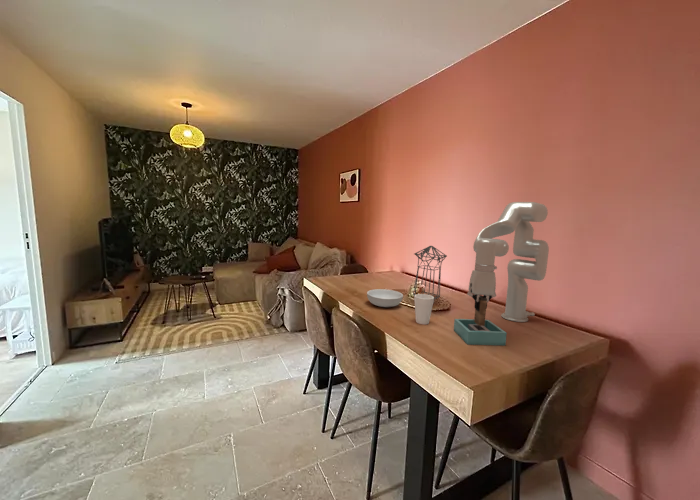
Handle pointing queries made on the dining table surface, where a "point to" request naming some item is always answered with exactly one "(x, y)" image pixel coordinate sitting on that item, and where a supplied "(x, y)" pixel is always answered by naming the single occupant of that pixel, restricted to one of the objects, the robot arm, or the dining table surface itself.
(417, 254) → the geometric lantern
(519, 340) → the dining table surface
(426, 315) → the foam cup
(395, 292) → the serving bowl
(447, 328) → the dining table surface
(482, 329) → the teal shallow tray
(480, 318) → the brown rectangular block
